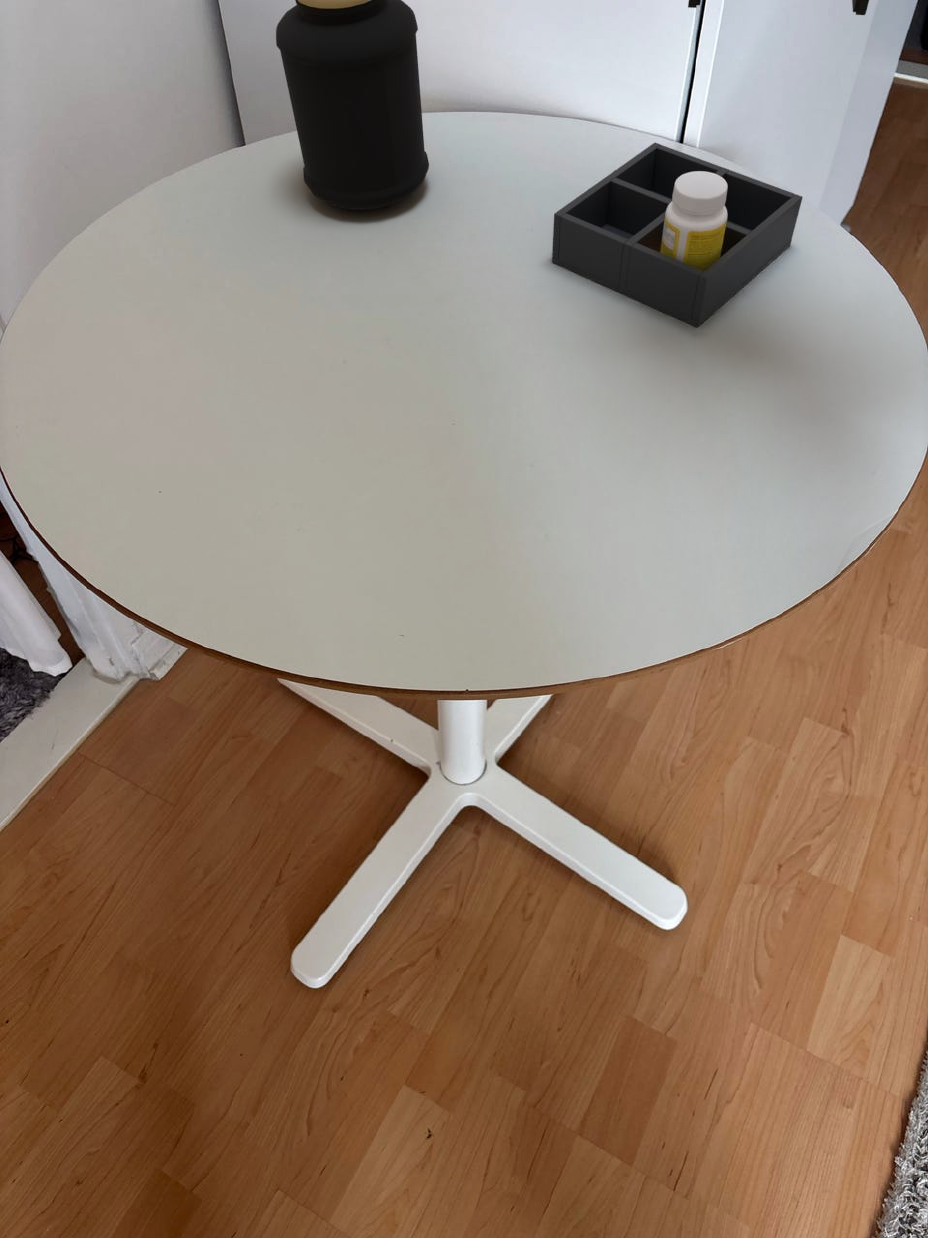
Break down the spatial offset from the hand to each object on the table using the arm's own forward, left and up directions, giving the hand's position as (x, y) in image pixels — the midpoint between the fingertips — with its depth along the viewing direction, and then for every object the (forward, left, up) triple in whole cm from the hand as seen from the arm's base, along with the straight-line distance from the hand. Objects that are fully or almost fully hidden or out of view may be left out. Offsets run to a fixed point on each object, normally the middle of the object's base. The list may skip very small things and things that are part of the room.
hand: (775, 2), depth 60 cm
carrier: (+4, -10, -24) cm, 26 cm away
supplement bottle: (+2, -5, -23) cm, 24 cm away
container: (+33, -16, -24) cm, 44 cm away
